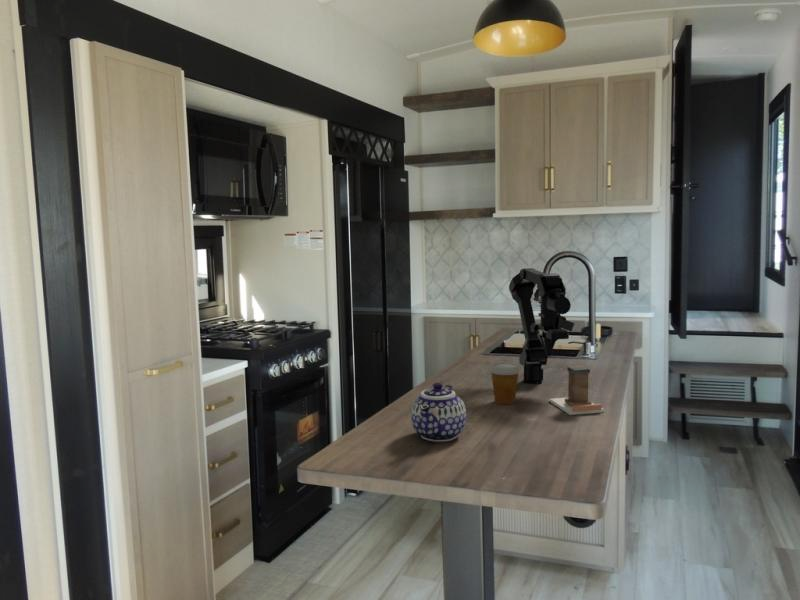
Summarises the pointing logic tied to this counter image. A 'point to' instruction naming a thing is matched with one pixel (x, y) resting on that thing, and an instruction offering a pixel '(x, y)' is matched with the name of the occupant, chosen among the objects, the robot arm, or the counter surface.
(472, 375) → the counter surface
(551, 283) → the robot arm
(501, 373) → the disposable coffee cup
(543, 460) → the counter surface
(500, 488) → the counter surface
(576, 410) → the thin white base plate
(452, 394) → the teapot
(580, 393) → the brown wooden pedestal
